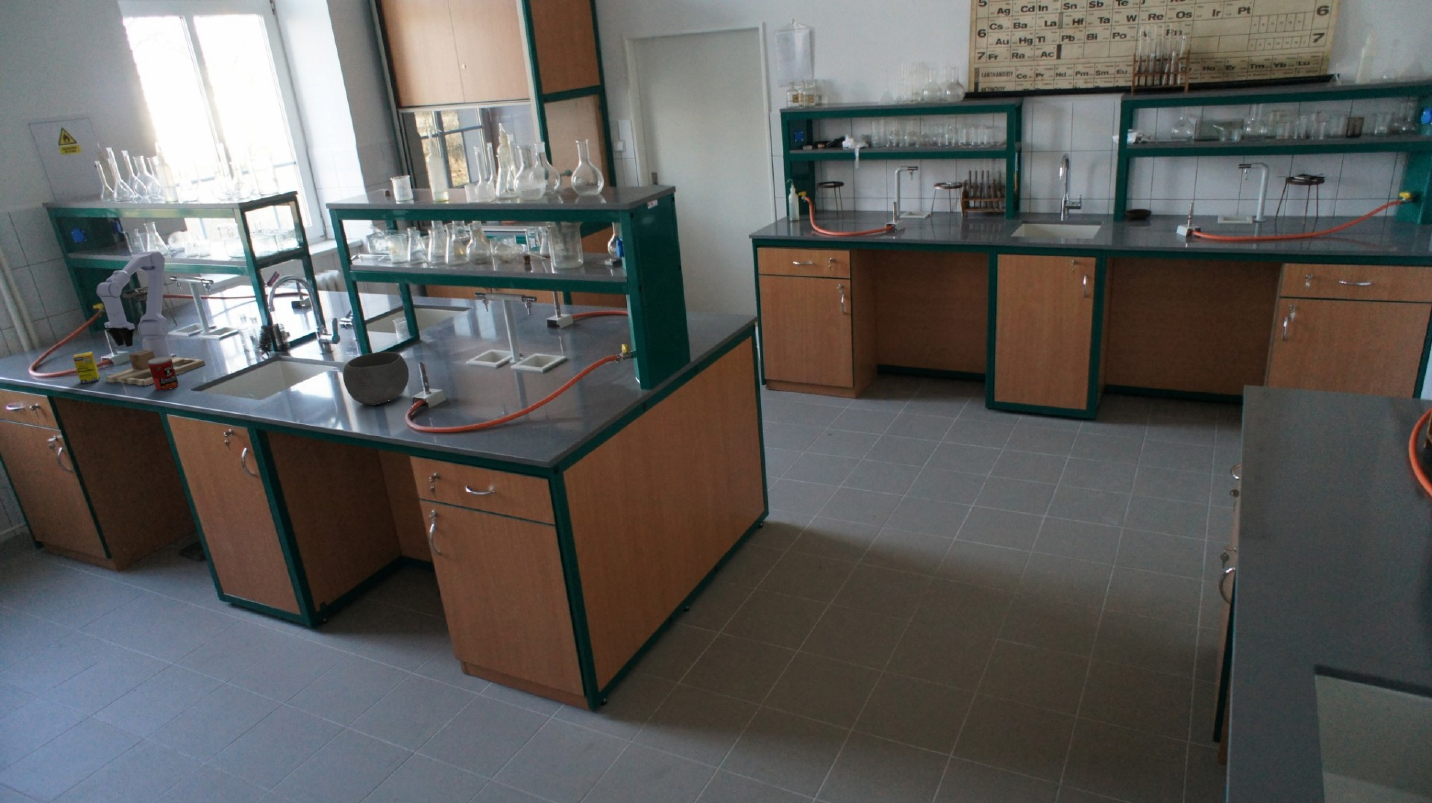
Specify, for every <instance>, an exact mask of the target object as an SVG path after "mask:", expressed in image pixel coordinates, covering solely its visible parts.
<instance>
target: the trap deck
mask: <svg viewBox="0 0 1432 803" xmlns="http://www.w3.org/2000/svg"><path fill="white" fill-rule="evenodd" d="M171 359H172V362H173V366H174V369H175V373H176V376H178V375H180V373H181V374H183V373H185V372H189V371H191V370H194V369H197V368H200V367H203V366H205V365H206V363H205V360H204V359H198V358H189V357H188V358H187V357H179V356H177V357H176V356H172V357H171ZM177 374H178V375H177ZM105 378H106V382H107V383H114V382H122V383H121V384H123V383H129V384H128V385H132V384H137V385H136V386H141V385H148V386H151V385H154V384H153V383H154V381H153V378H152V375H151V371H150V368H148V369H145V370H138V369H133V367H130V368H128V369H125V370H122V371H119V372H116V373H113V374H110V375H108V376H105ZM130 383H131V384H130ZM150 384H151V385H150Z"/></svg>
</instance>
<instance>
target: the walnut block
mask: <svg viewBox="0 0 1432 803" xmlns="http://www.w3.org/2000/svg"><path fill="white" fill-rule="evenodd" d="M128 356H129V360H130V364H131V368H133V369H138V370H145V369H148V368H149V364H148V361H149V360H151V359H154V358H155V356H154V352H153V351H148V350H143V349H142V350H138V351H135V352H132V353H130V354H128Z"/></svg>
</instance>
